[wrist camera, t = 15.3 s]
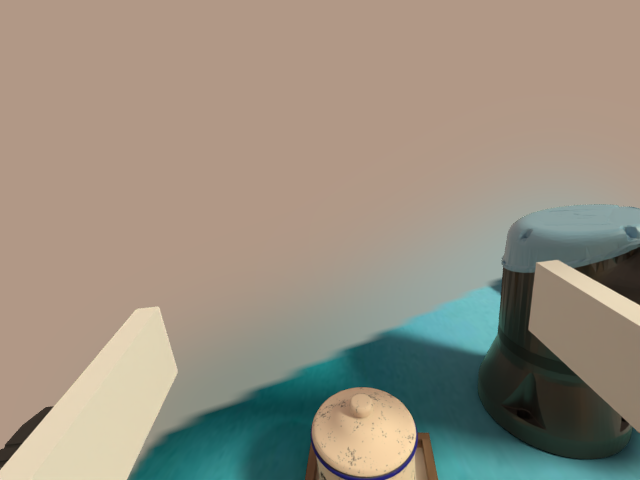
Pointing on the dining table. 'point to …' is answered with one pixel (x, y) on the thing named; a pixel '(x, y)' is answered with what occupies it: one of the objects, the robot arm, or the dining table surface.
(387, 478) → the teacup with lid
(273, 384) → the dining table surface
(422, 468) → the walnut tray
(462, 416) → the dining table surface
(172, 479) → the dining table surface
